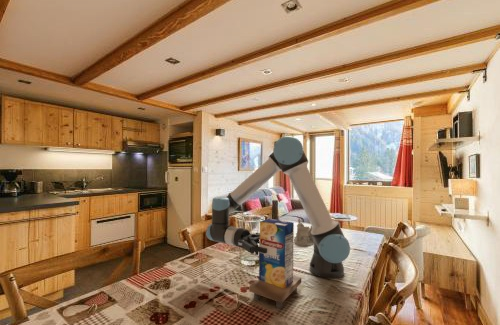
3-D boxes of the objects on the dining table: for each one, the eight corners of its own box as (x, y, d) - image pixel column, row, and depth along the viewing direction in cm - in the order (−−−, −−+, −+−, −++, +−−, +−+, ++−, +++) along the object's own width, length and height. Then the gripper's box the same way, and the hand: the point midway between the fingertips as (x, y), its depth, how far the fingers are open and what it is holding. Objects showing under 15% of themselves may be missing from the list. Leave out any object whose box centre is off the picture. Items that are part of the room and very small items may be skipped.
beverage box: (284, 288, 85) (285, 225, 85) (258, 279, 91) (259, 221, 92) (293, 281, 90) (293, 222, 91) (268, 273, 97) (269, 218, 97)
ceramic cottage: (293, 244, 148) (294, 220, 149) (294, 238, 164) (296, 216, 165) (319, 248, 144) (321, 223, 145) (318, 241, 160) (319, 219, 161)
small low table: (271, 281, 101) (271, 269, 101) (301, 290, 94) (301, 277, 94) (249, 299, 87) (249, 285, 87) (281, 312, 79) (282, 296, 79)
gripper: (254, 238, 111) (297, 247, 99) (218, 255, 90) (267, 268, 78) (254, 222, 111) (297, 229, 99) (218, 234, 90) (268, 245, 78)
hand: (284, 246), depth 89 cm, fingers open, 13 cm apart
